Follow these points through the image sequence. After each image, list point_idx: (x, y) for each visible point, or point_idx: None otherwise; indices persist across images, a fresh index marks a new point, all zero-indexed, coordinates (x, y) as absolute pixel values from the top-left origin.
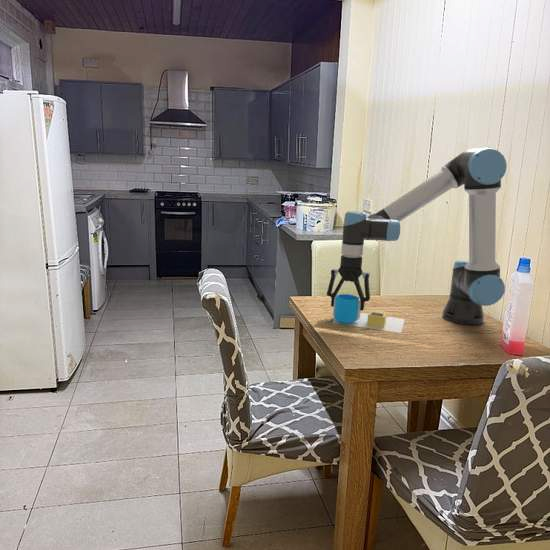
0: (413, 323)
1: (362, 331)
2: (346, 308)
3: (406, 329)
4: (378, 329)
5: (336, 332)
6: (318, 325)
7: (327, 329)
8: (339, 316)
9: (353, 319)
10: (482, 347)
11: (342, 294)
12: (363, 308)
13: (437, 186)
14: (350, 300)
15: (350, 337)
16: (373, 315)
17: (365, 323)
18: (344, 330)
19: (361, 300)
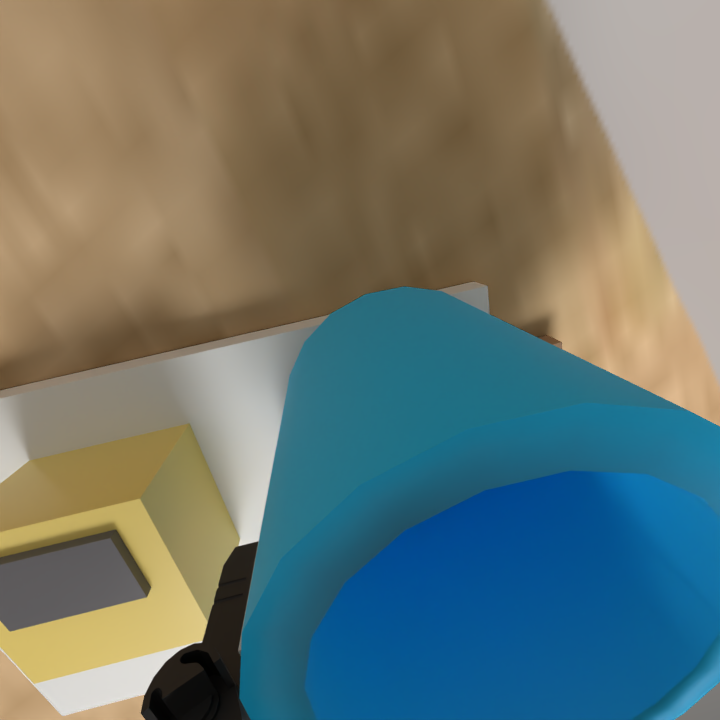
0: (18, 703)
1: (189, 320)
2: (393, 345)
3: None
4: (36, 391)
5: (374, 113)
6: (585, 211)
7: (482, 149)
8: (449, 300)
9: (294, 372)
10: None
11: (656, 715)
12: (223, 580)
13: None
14: (355, 482)
15: (179, 37)
16: (71, 519)
17: (229, 462)
18: (334, 234)
19: (215, 707)
